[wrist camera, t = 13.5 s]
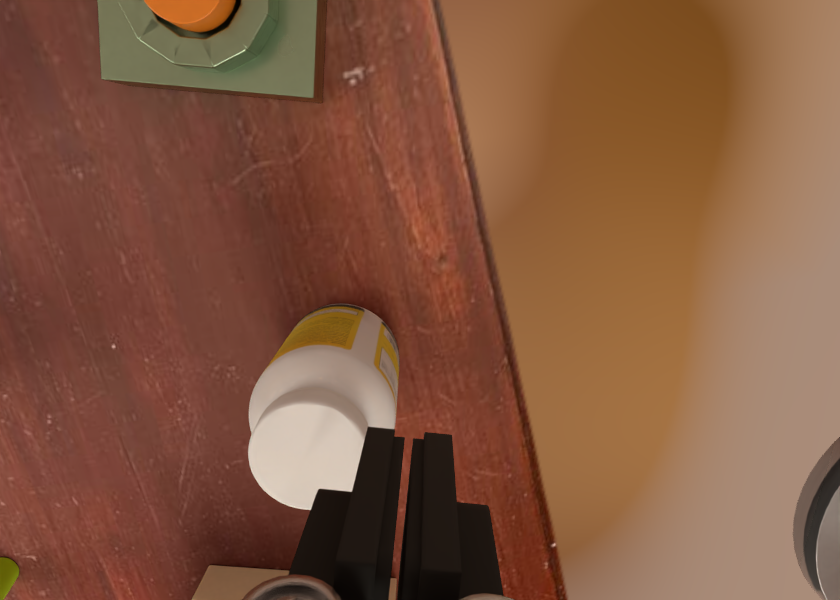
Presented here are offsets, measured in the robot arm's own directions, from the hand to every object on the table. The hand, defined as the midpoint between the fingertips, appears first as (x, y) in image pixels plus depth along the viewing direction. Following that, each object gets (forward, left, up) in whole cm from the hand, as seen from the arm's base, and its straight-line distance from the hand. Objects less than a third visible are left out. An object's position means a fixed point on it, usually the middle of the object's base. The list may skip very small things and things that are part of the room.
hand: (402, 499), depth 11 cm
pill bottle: (+4, +5, -22) cm, 23 cm away
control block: (+10, -13, -22) cm, 27 cm away
